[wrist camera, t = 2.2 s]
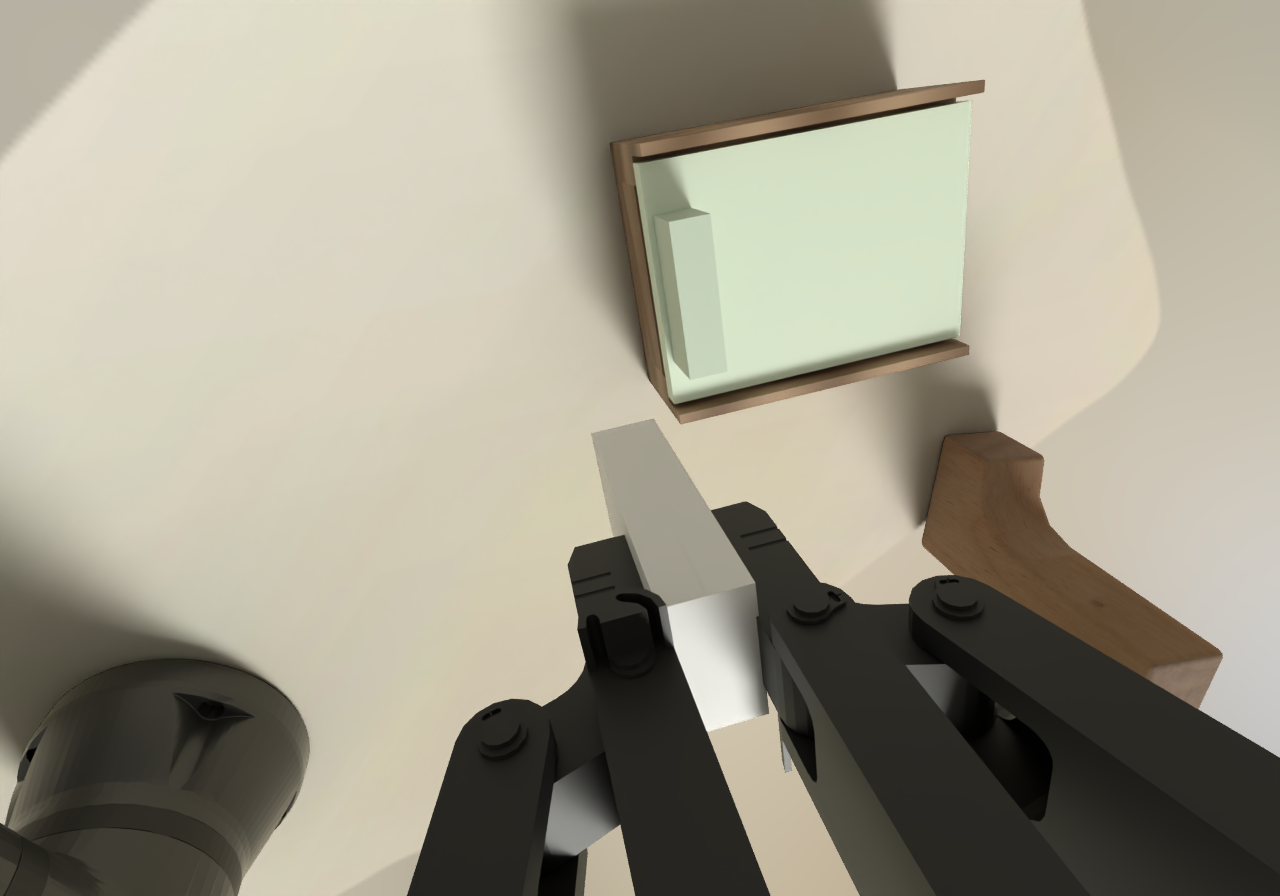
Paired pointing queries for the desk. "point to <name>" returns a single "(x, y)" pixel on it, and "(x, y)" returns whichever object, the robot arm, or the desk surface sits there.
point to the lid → (806, 248)
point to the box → (742, 132)
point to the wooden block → (1050, 564)
